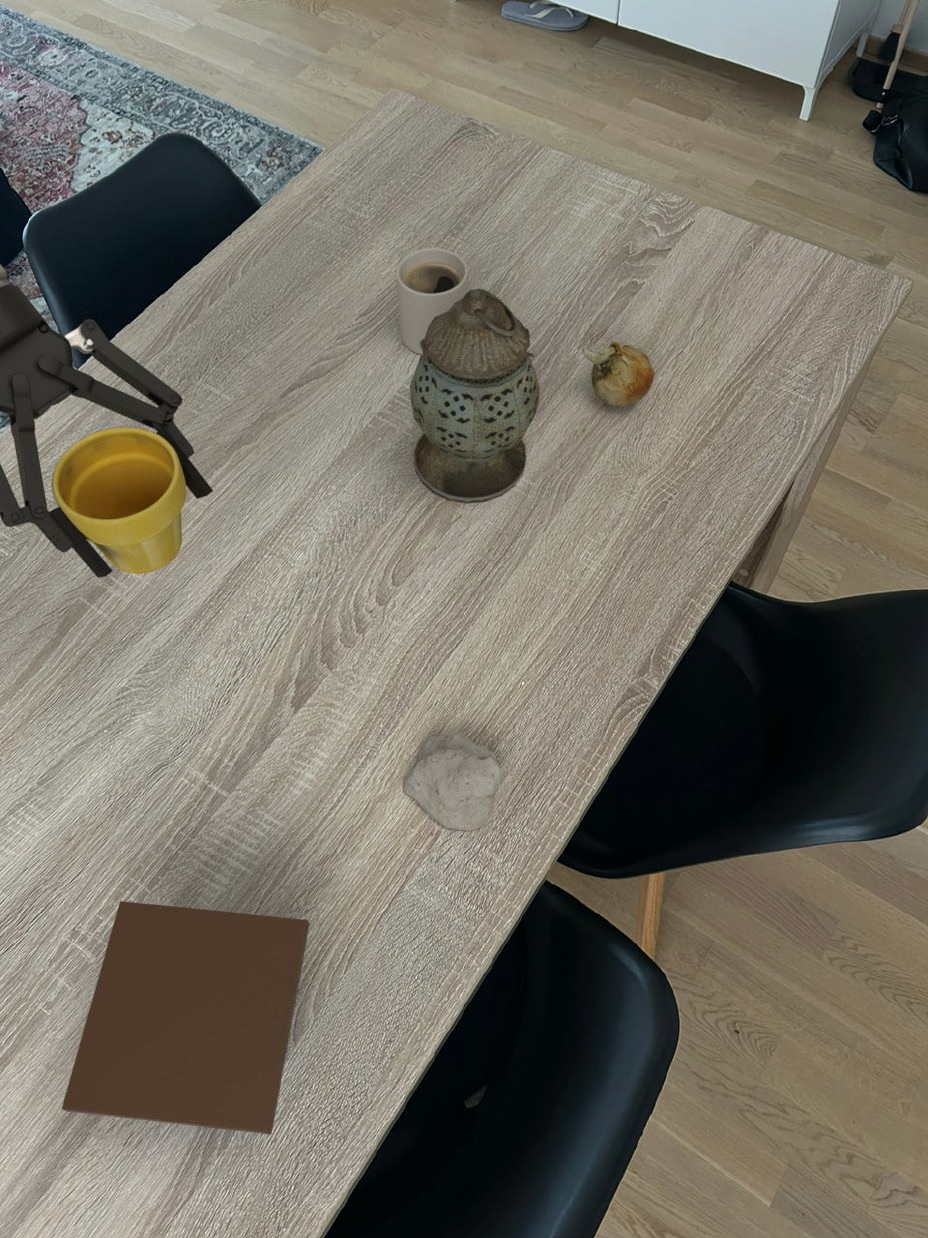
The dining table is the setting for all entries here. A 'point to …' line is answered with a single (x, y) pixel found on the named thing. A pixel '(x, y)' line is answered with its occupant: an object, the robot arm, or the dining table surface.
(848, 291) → the dining table surface
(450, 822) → the stone
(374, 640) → the dining table surface
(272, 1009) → the stand
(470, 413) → the lantern
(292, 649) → the dining table surface
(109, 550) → the flower pot
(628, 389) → the onion
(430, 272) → the mug
